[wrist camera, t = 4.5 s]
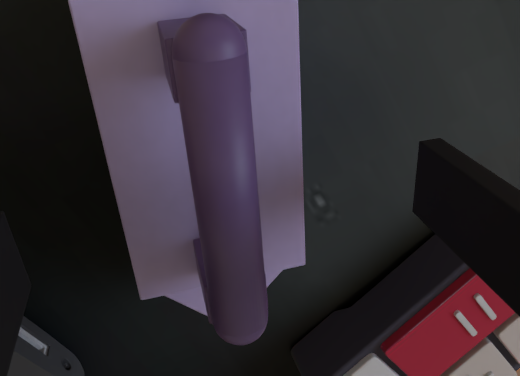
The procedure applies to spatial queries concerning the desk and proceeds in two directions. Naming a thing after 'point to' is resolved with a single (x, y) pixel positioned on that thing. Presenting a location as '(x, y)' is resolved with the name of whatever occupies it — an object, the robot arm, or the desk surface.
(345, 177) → the desk surface
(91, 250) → the desk surface
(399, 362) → the calculator
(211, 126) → the iron
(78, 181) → the desk surface
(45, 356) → the media streaming box
